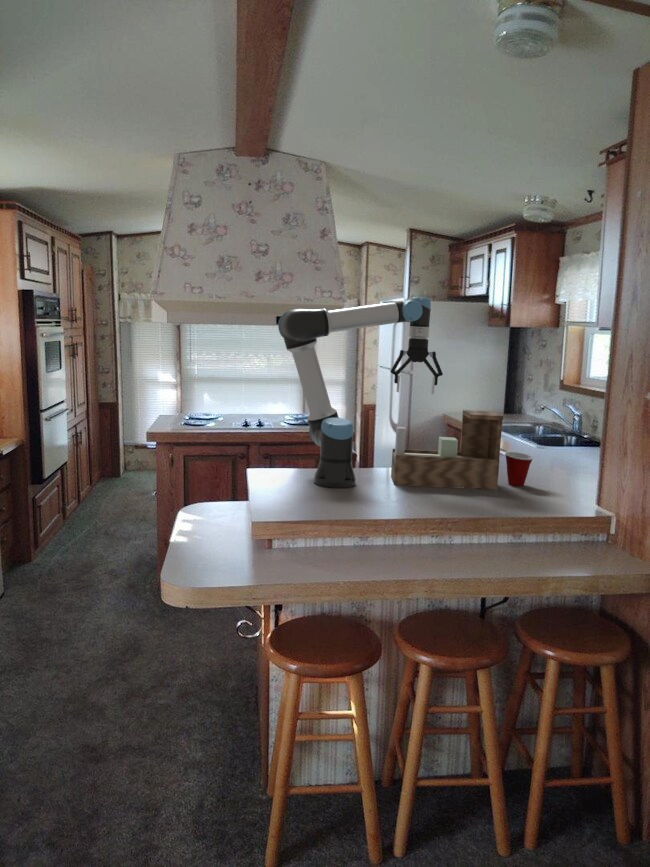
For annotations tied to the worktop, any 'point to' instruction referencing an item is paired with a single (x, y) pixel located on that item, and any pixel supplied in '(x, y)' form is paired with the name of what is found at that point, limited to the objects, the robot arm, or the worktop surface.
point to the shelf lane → (471, 464)
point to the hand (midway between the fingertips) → (415, 392)
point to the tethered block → (445, 449)
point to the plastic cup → (517, 467)
